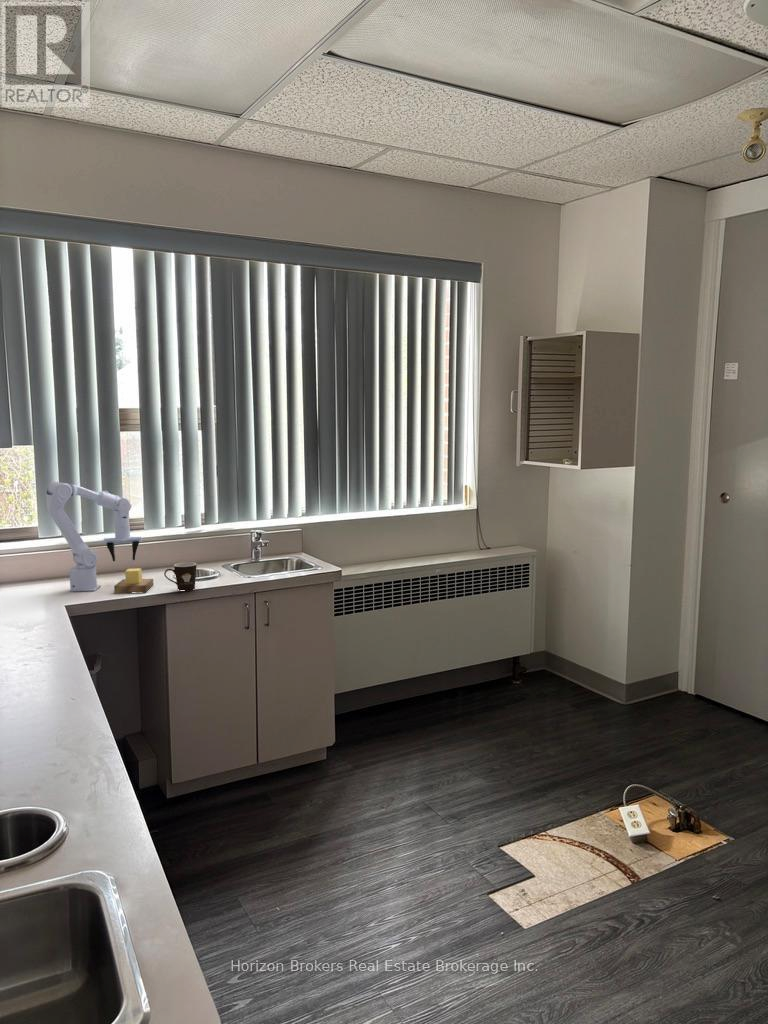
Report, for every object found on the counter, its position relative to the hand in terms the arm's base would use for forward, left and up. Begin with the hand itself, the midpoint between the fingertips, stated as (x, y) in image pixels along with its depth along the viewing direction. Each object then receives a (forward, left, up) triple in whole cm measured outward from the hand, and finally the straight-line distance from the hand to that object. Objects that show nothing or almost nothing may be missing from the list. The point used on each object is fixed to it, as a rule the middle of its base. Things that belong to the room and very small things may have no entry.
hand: (124, 560), depth 314 cm
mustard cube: (+7, -13, -6) cm, 16 cm away
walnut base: (+7, -13, -9) cm, 18 cm away
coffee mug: (+26, -15, -10) cm, 32 cm away
